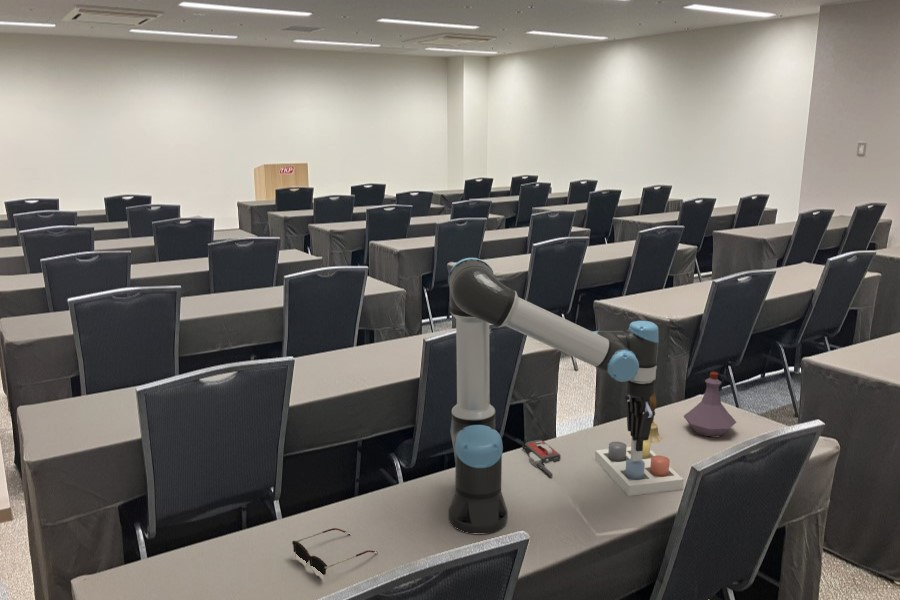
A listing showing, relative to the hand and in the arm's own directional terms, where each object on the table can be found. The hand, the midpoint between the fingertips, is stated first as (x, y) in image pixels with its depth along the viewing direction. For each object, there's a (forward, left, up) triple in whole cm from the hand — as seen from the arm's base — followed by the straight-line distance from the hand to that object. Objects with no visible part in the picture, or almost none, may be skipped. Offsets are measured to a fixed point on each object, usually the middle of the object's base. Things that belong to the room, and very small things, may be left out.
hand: (636, 459), depth 207 cm
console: (+4, +6, -9) cm, 11 cm away
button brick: (+7, 0, -5) cm, 9 cm away
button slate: (0, 0, -5) cm, 5 cm away
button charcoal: (0, +11, -5) cm, 12 cm away
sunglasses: (-83, -14, -9) cm, 85 cm away
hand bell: (+19, +27, -9) cm, 34 cm away
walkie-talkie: (-19, +21, -9) cm, 29 cm away
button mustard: (+7, +11, -5) cm, 14 cm away
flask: (+41, +29, -9) cm, 50 cm away
